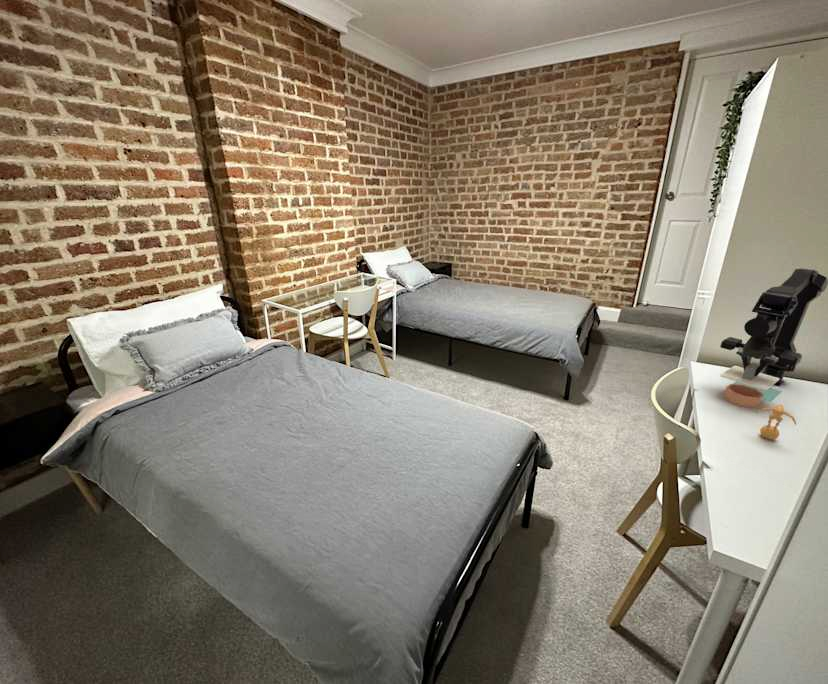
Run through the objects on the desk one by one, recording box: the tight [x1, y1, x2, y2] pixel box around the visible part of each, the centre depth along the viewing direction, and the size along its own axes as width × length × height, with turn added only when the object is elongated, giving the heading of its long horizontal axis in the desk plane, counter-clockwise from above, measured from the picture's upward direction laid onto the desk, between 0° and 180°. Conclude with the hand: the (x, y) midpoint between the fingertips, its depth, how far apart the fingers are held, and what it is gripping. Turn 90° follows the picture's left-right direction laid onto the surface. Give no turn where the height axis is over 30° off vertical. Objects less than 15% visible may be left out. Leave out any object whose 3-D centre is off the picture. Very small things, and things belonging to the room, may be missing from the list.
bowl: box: [722, 383, 764, 409], centre depth 124 cm, size 9×9×4 cm
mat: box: [732, 381, 783, 403], centre depth 131 cm, size 12×12×1 cm
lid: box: [719, 361, 780, 391], centre depth 121 cm, size 12×12×5 cm
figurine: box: [755, 404, 797, 440], centre depth 103 cm, size 8×6×12 cm
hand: (750, 374), depth 121 cm, fingers closed on lid, 2 cm apart
